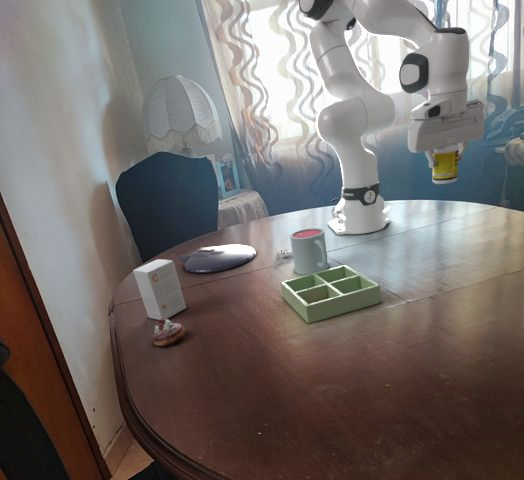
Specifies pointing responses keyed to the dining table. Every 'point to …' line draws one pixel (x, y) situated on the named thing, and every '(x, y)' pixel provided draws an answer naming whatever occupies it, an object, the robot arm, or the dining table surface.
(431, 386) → the dining table surface
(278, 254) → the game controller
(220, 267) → the toy spaceship
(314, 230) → the mug
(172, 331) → the pastry
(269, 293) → the dining table surface
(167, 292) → the small box
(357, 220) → the robot arm
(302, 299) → the divided tray
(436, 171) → the pill bottle
